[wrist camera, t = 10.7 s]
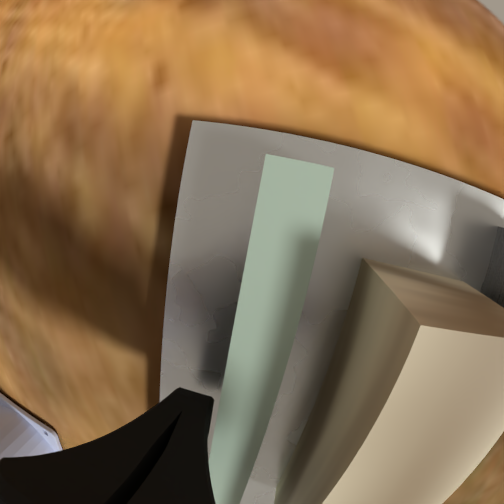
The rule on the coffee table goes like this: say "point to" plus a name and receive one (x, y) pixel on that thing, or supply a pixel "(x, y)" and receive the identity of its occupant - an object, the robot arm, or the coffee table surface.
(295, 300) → the bar
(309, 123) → the coffee table surface
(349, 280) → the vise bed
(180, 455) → the robot arm
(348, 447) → the wood bar
